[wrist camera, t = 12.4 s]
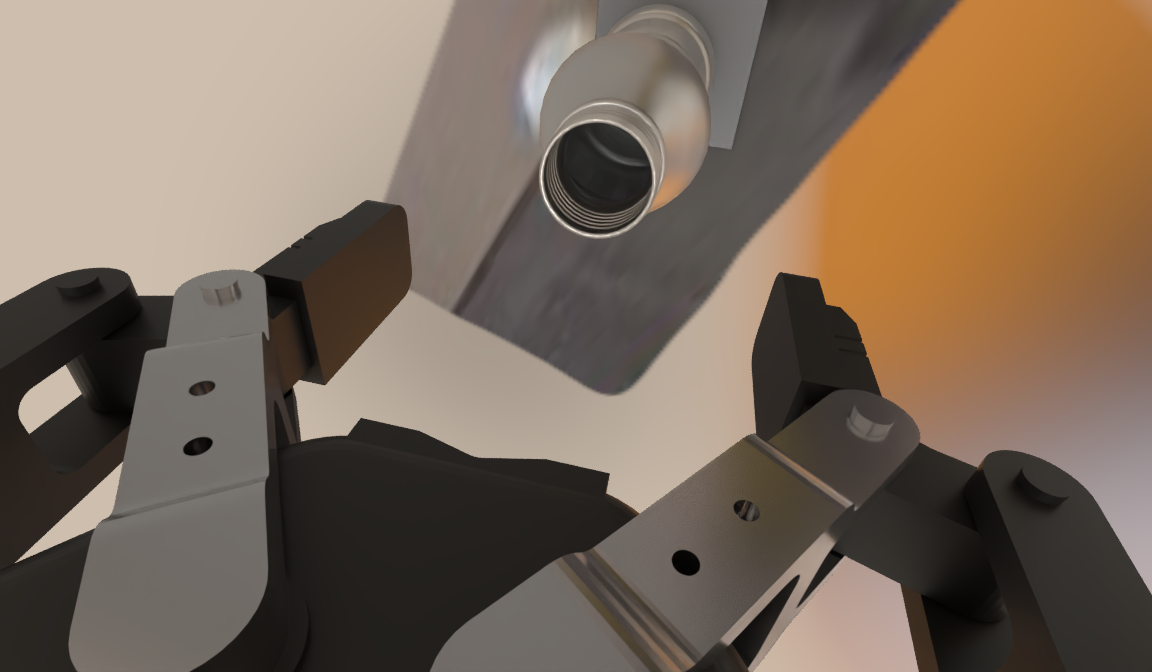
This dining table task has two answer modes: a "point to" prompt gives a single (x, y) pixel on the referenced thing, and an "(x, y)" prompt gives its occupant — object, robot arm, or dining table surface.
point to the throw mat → (733, 23)
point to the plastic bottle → (627, 121)
